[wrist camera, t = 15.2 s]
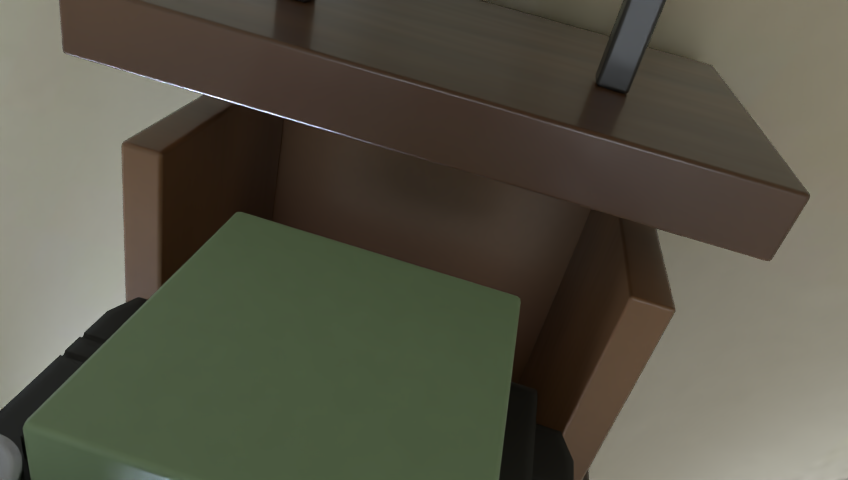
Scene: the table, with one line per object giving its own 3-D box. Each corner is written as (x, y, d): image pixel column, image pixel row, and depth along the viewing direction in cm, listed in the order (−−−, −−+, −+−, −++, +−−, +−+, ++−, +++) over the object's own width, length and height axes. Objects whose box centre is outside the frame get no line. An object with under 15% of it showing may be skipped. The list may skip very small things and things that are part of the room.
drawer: (279, -312, 13) (19, -480, 7) (825, -172, 13) (1073, -223, 6) (226, 342, 23) (96, 517, 17) (537, 440, 22) (523, 662, 16)
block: (236, 207, 10) (17, 423, 6) (523, 295, 10) (488, 580, 6) (221, 411, 12) (56, 661, 8) (449, 486, 12) (390, 779, 8)
